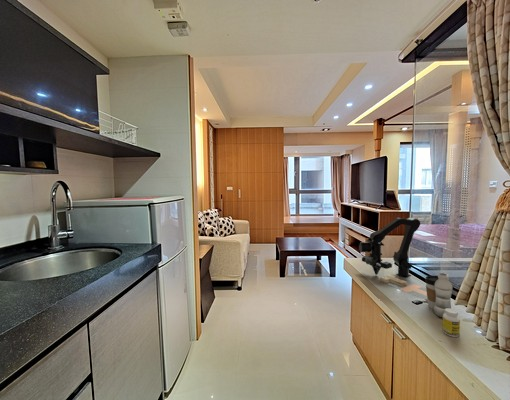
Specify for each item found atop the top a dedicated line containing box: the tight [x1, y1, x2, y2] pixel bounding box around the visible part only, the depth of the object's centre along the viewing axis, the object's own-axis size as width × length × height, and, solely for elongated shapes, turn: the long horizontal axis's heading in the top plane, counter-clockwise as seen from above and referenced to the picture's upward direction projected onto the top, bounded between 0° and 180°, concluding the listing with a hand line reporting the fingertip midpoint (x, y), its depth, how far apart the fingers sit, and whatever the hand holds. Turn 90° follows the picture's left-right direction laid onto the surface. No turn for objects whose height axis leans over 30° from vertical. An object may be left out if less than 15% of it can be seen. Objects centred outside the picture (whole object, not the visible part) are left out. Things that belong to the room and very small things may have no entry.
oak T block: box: [379, 273, 408, 286], centre depth 144 cm, size 12×12×2 cm
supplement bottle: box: [442, 308, 461, 338], centre depth 96 cm, size 5×5×10 cm
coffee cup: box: [424, 275, 439, 310], centre depth 115 cm, size 8×8×15 cm
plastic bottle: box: [433, 272, 453, 319], centre depth 107 cm, size 6×7×20 cm
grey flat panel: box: [376, 278, 428, 302], centre depth 138 cm, size 14×30×1 cm, turn 26°
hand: (376, 274), depth 156 cm, fingers closed
